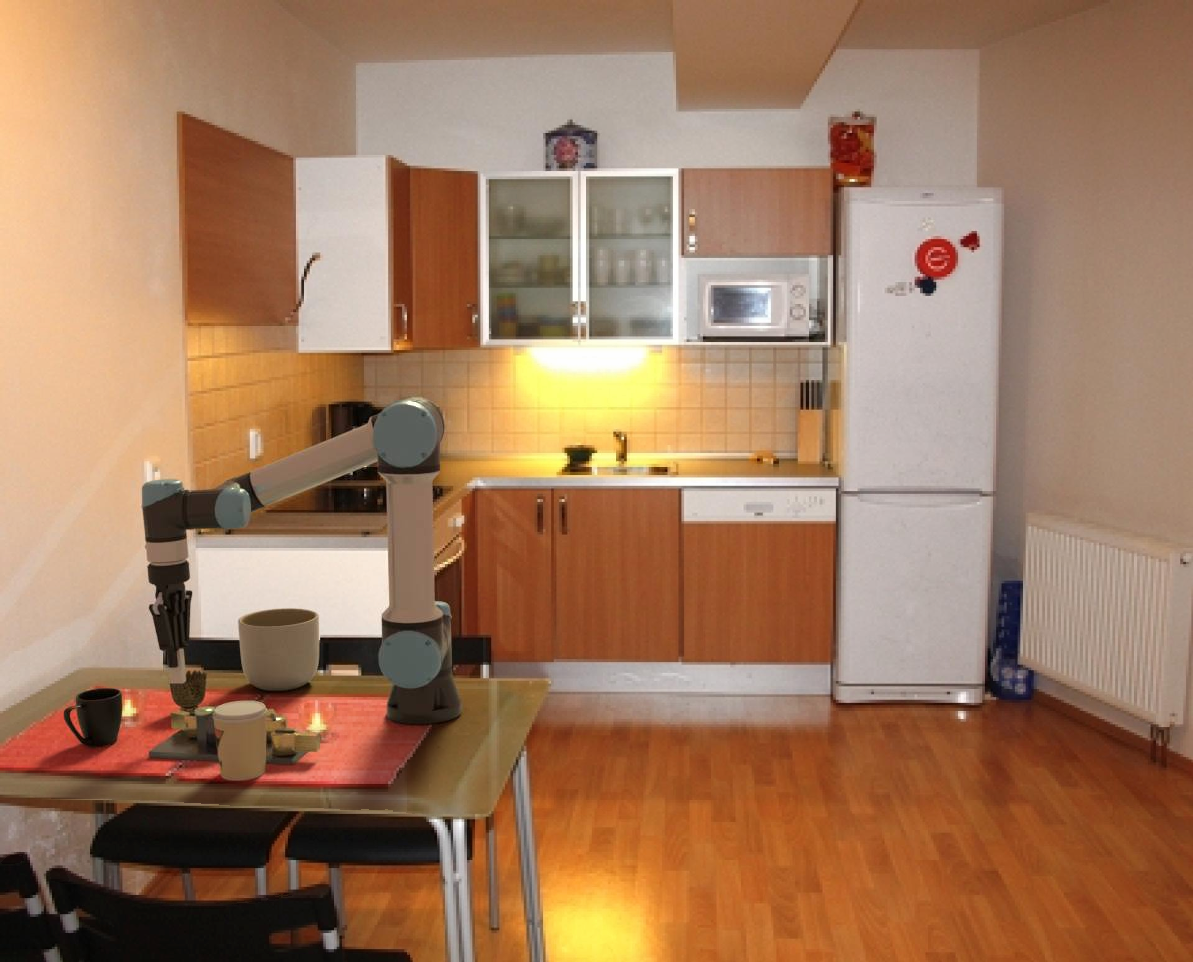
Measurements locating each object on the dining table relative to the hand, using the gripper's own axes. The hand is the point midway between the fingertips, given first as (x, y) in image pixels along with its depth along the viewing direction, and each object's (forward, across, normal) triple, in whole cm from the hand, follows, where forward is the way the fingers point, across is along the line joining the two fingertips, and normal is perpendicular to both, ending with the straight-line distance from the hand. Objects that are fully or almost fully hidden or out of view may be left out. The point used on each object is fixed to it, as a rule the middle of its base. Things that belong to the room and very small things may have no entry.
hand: (177, 682), depth 251 cm
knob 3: (+10, +8, +27) cm, 30 cm away
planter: (+12, -36, +5) cm, 38 cm away
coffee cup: (+12, +16, +20) cm, 28 cm away
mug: (+11, +6, -15) cm, 20 cm away
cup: (+11, -15, -6) cm, 20 cm away
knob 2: (+10, -1, +18) cm, 21 cm away
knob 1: (+10, 0, +2) cm, 10 cm away
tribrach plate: (+11, +4, +13) cm, 18 cm away
